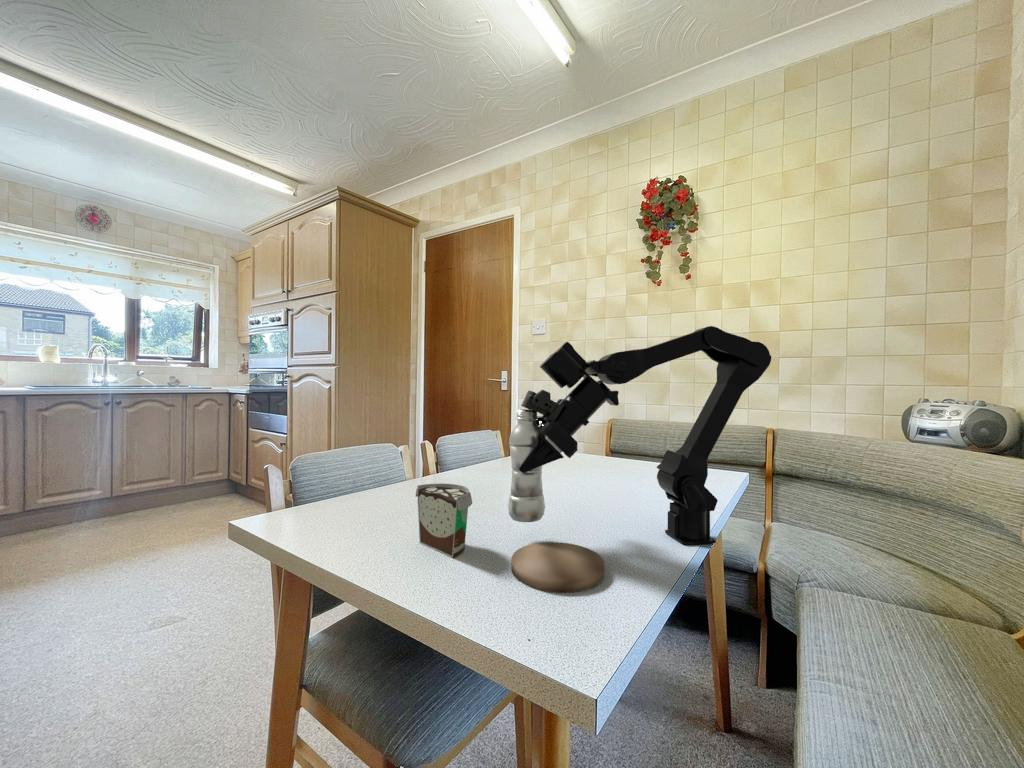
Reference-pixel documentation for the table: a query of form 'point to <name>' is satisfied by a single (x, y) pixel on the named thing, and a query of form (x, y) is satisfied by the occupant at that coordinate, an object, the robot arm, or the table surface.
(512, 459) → the plastic bottle
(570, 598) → the table surface
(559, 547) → the walnut stand
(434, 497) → the food container
